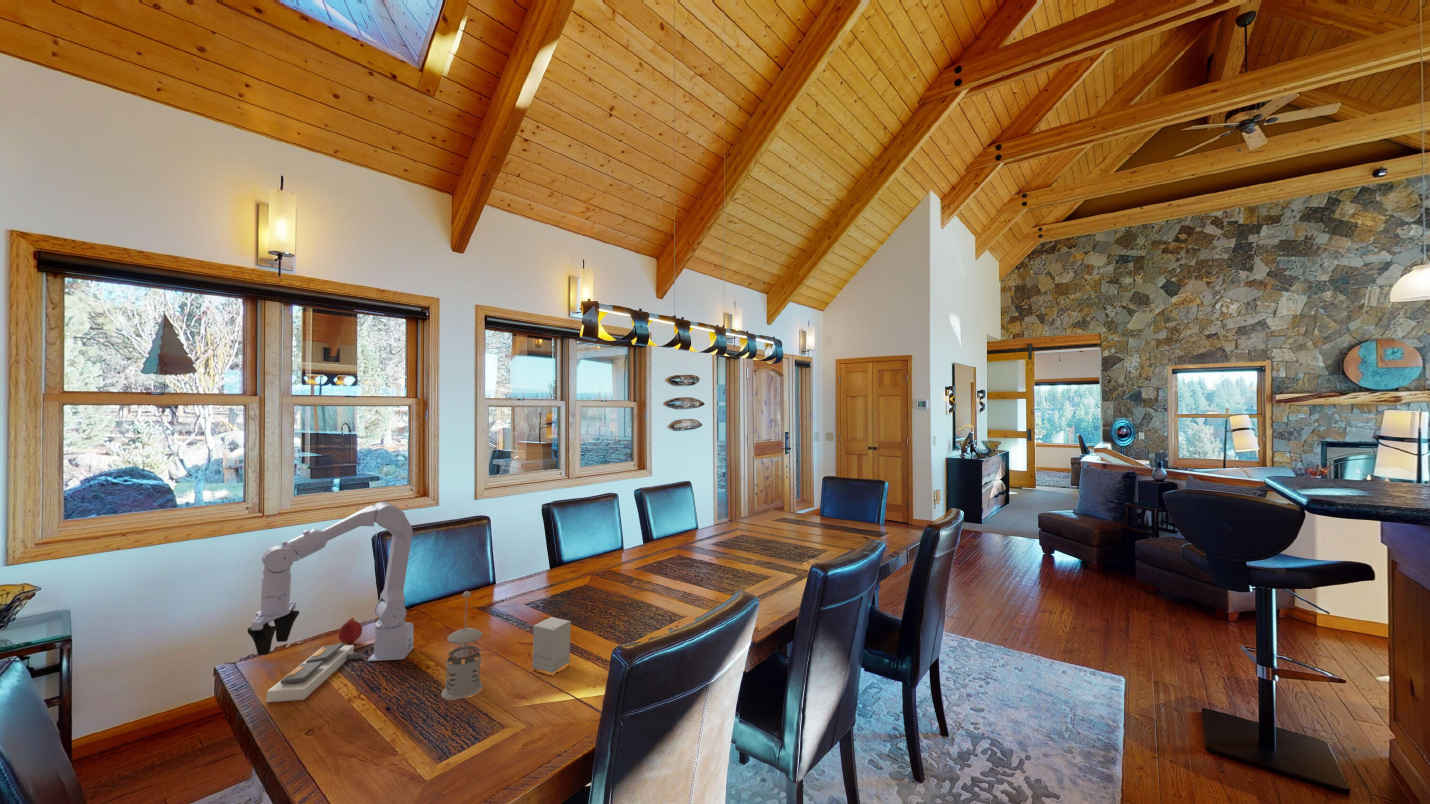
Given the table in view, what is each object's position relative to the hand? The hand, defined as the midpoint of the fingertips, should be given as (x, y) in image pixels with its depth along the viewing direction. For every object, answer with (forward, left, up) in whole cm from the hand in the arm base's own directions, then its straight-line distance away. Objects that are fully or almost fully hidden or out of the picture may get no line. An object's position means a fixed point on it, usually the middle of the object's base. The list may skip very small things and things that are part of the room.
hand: (273, 647), depth 134 cm
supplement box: (-69, +1, -10) cm, 70 cm away
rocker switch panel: (-10, -4, -9) cm, 14 cm away
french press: (-48, +9, -10) cm, 50 cm away
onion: (-8, -23, -10) cm, 26 cm away
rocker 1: (-8, +2, -6) cm, 10 cm away
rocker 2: (-8, -9, -6) cm, 13 cm away
